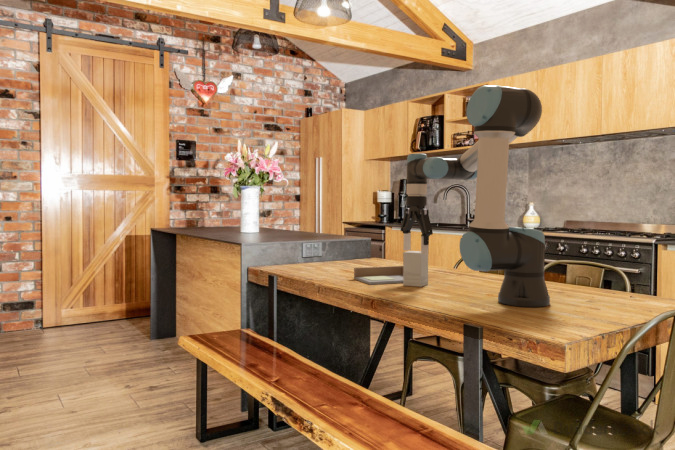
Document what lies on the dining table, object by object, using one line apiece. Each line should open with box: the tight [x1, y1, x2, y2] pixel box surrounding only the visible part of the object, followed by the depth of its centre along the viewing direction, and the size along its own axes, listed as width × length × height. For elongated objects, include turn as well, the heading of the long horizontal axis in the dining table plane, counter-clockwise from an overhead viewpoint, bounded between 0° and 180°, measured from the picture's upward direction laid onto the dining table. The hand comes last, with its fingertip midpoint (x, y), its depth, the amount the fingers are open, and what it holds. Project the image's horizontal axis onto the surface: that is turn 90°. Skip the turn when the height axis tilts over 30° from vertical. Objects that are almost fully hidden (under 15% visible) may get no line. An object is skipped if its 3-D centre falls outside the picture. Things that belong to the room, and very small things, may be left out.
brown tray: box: [353, 265, 403, 286], centre depth 211 cm, size 16×22×4 cm
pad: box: [362, 276, 395, 281], centre depth 210 cm, size 10×10×1 cm
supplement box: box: [402, 250, 429, 287], centre depth 200 cm, size 7×7×13 cm
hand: (415, 252), depth 200 cm, fingers open, 13 cm apart
